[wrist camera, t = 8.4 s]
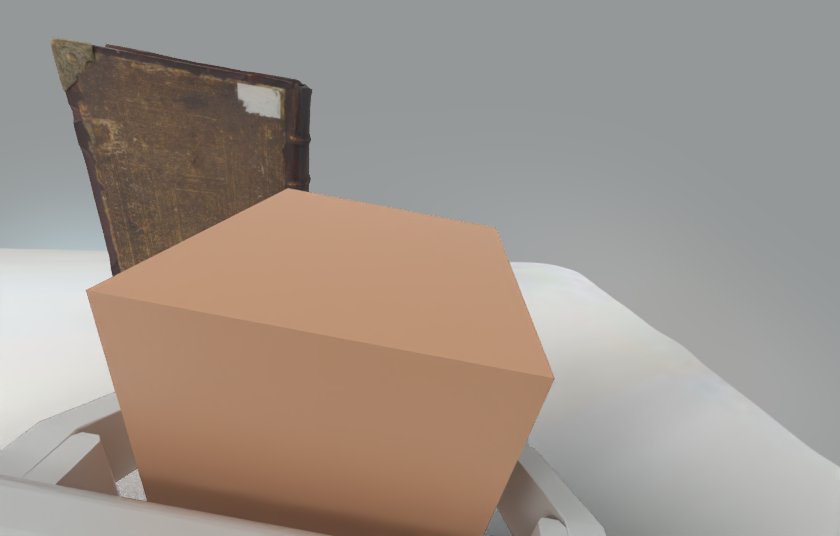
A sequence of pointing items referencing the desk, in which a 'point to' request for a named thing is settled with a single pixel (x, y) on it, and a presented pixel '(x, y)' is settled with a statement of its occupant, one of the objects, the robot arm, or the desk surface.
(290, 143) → the book
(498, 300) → the block
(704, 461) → the desk surface
